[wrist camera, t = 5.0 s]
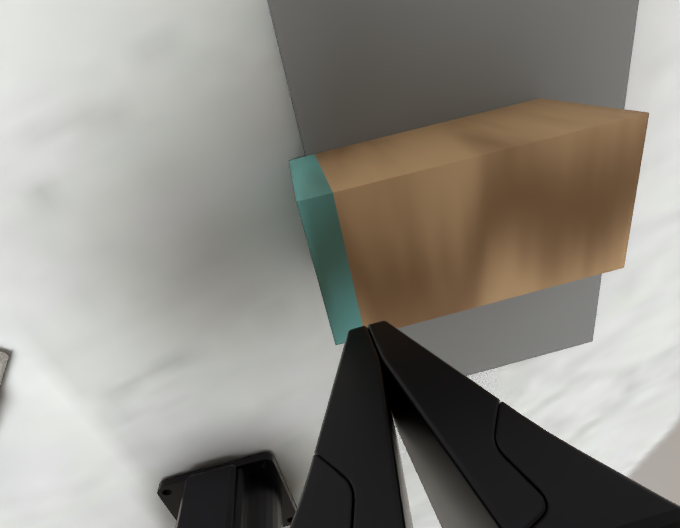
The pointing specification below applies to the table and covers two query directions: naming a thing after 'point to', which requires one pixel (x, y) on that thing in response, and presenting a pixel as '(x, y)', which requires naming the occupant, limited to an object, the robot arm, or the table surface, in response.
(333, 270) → the oak block
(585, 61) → the charcoal mat
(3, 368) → the mobile phone
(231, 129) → the table surface
